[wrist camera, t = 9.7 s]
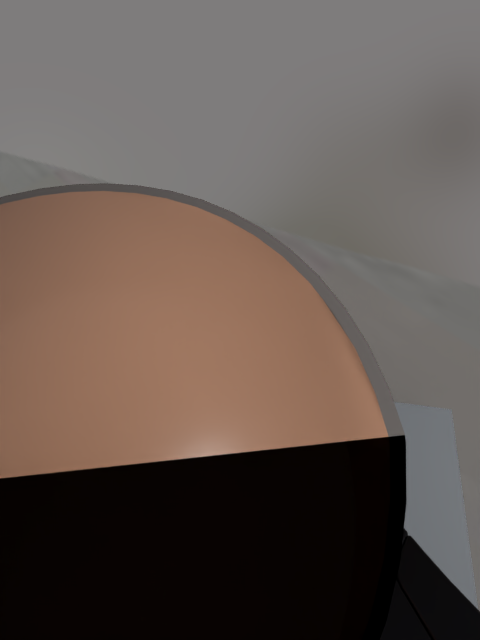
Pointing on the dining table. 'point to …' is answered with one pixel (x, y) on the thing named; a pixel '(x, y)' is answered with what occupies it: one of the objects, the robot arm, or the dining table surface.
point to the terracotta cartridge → (185, 430)
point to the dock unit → (436, 493)
